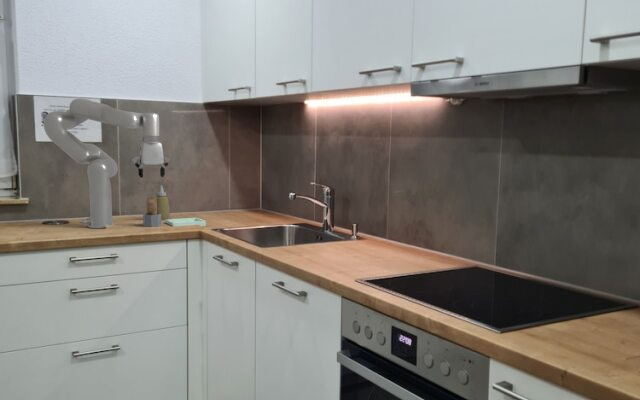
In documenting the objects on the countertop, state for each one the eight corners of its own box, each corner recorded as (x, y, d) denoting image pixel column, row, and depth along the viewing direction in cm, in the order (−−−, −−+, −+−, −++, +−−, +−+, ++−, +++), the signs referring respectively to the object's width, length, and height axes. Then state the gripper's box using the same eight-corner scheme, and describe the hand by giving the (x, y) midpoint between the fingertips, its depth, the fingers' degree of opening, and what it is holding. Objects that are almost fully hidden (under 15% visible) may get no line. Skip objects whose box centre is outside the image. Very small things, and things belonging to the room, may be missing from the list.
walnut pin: (148, 226, 268) (148, 198, 267) (146, 225, 272) (145, 197, 271) (158, 225, 271) (157, 198, 269) (155, 224, 274) (155, 197, 273)
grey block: (145, 229, 266) (145, 215, 265) (140, 227, 273) (140, 213, 272) (163, 228, 270) (163, 214, 270) (158, 225, 277) (158, 212, 277)
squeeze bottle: (172, 220, 296) (171, 184, 294) (166, 222, 288) (166, 186, 286) (156, 219, 297) (156, 184, 295) (150, 221, 289) (150, 185, 287)
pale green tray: (173, 228, 271) (173, 223, 270) (165, 224, 281) (165, 219, 281) (205, 225, 279) (205, 220, 279) (196, 222, 289) (196, 217, 289)
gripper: (134, 140, 259) (135, 178, 261) (172, 140, 268) (172, 177, 270) (129, 139, 266) (130, 177, 267) (167, 139, 275) (167, 176, 277)
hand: (151, 177), depth 269 cm, fingers open, 9 cm apart
